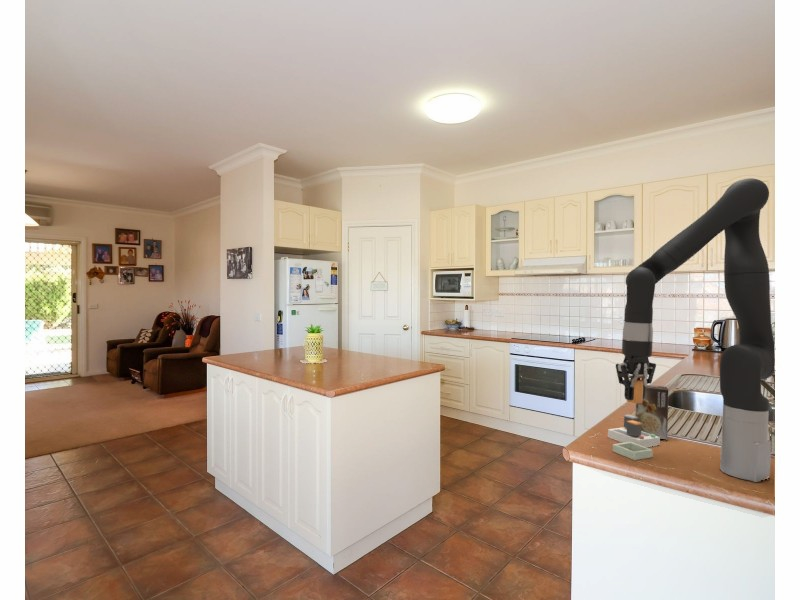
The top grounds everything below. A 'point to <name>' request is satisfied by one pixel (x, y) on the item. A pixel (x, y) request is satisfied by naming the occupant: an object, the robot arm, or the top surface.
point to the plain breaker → (628, 418)
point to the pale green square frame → (639, 450)
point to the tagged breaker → (634, 428)
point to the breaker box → (642, 440)
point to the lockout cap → (637, 392)
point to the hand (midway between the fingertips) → (634, 398)
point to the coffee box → (654, 411)
